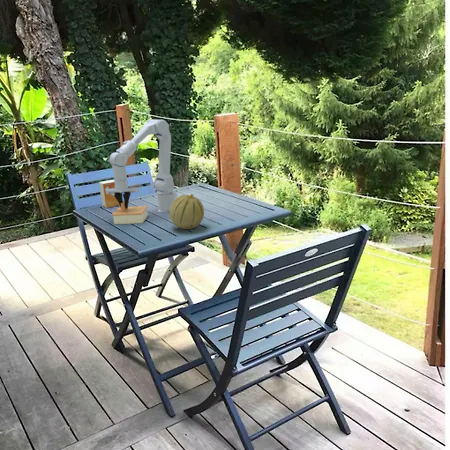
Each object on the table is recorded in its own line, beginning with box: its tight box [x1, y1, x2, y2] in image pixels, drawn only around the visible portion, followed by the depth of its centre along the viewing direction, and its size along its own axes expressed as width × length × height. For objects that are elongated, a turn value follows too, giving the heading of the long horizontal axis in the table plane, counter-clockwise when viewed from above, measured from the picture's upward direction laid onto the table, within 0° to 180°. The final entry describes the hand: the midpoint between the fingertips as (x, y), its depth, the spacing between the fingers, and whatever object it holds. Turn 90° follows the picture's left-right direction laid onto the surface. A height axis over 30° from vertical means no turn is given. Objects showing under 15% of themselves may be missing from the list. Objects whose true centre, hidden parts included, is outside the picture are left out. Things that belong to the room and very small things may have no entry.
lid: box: [111, 200, 148, 217], centre depth 213 cm, size 14×12×5 cm
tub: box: [112, 208, 149, 225], centre depth 214 cm, size 13×11×4 cm
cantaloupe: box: [168, 193, 205, 230], centre depth 197 cm, size 15×15×15 cm
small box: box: [98, 179, 120, 209], centre depth 243 cm, size 8×6×13 cm
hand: (124, 208), depth 213 cm, fingers closed on lid
